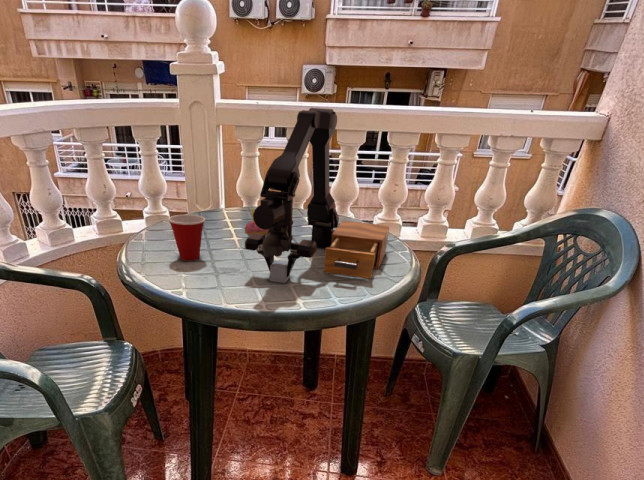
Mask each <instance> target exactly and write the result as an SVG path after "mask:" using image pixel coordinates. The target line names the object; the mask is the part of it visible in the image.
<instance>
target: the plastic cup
mask: <svg viewBox="0 0 644 480" xmlns="http://www.w3.org/2000/svg"><path fill="white" fill-rule="evenodd" d="M167 220H168V222H169V223H170V227H171V230H172V233H173V236H174V237H173V238H174V240H175V245H176V248H177V251H178V255H179V258H180V259H181V260H183V261H187V262H191V261H196V260H198V259H199V258H200V256H201V245H202V237H203V236H202V235H203V229H204V224H205V222H206V217H205V216H201V215H198V214H175V215H171V216H169V217H168V219H167Z"/></svg>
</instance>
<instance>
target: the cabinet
mask: <svg viewBox="0 0 644 480" xmlns="http://www.w3.org/2000/svg"><path fill="white" fill-rule="evenodd" d="M390 227H391V226H390V225H388V224H377V223H369V222H360V221H350V220H343V219H342V220H341V221H340V223H338V227H337V228H335V229H334V230H335V231H334V232H333V234H332V241H331V245H332V244H333V242H334V241H335V239H336V238H337V237H339V238H347V239H355V240H364V241H372V242H379V244H378V251H377V258H376V262H375V264H374V266H373V269H375V270H379V268H380V266H381V264H382V262H383V259H384V256H385V255H386V252H387V246H388V245H387V244H388V239H389V233H390Z"/></svg>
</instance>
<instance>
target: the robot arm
mask: <svg viewBox="0 0 644 480" xmlns="http://www.w3.org/2000/svg"><path fill="white" fill-rule="evenodd" d="M337 124H338V115H337V114H336V111H334V109H333V108H321V107H310V108H309V109H308V110H305V109H302V110H299V111H298V113H297V117H296V122H295V125H294V127H293V129H292V131H291V134H290V135H289V138H288V139H287V143H286V145H285V147H284V149H283V152H282V153H281V154H280V155H279V156H278V157H276V158H275V159H273V161H272V163H271V164H270V166H269V167H268V169H267V171H266V173H265V178H264V179H263V184H262V187H261V190H260V195H259V196H260V198H262V199H261V200H259V201H260V202H259V204H260V206H259V205H258V206H257V207H255V209H254V214H253V217H252V220H253V219H254V222H255V224H256V225H257V226H258V227H259V228H260V229H263V230H267V229H269V230H268V233H267V235H266V237H265V235H263V234H255V233H253V234H252V235H250V236H249V237H248V236H247V238H246V239H245V241H244V249H245V250H248V251H253V252H254V251H257V254H258V255H261V256H262V257H263V258H264V260H265V263H266V265H267V268H268V271H269V272H270V265H271V264H272V263H273V262H274V261H275V257H277V258H278V257H281V256H282V255H283V253H285V252H289V251H290V253H289V254H288V255H287V262H288V266H287V277H289V275H290V276H291V273H292V270H293V268H294V265H295V264H296V261H297V260H299V259H300V258H305V259H306V258H307V259H310V258H312V257H313V256H314V255H315V253H317V248H321V249H326V248H327V247H330V246H331V241H332V234H333V232H334V231H335V230H336V228H337V227H338V226H339V224H340V223H339V220H340V217H339V213H338V212H337V209H336V202H335V201H336V200H335V199H334V198H333V196H332V194H331V193H330V143H331V140H332V138H333V136H334V134H335V133H336V127H337ZM309 143H310V144H309ZM309 145H311V156H312V158H311V159H312V191H313V192H312V193H313V194H312V195H313V196H312V197H311V199H310V201H309V202H308V204H307V209H306V212H307V213H306V215H307V216H306V217H307V225H308V226H311V239H310V240H309V239H302V240H301V241H300V242H292V241H293V237H294V236H293V235H292V234H293V225H294V220H293V214H294V213H293V212H294V210H293V209H294V198H295V197H296V192H297V189H298V186H299V184H300V177H301V173H300V168H299V167H300V164H301V162H302V159H303V157H304V155H305V153H306V151H307V148H308V146H309ZM264 198H265V199H264ZM289 278H290V277H289Z"/></svg>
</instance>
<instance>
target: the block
mask: <svg viewBox="0 0 644 480" xmlns="http://www.w3.org/2000/svg"><path fill="white" fill-rule="evenodd" d="M287 266H288V261H284V260H278V259H276V260H275V259H274V262H273V263H272V264H271V265H270V271H269V281H270V282H276V283H282V284H286V283H287V281H288V280H289V279H290V277H291V274H290V275H289V277H287Z"/></svg>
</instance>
